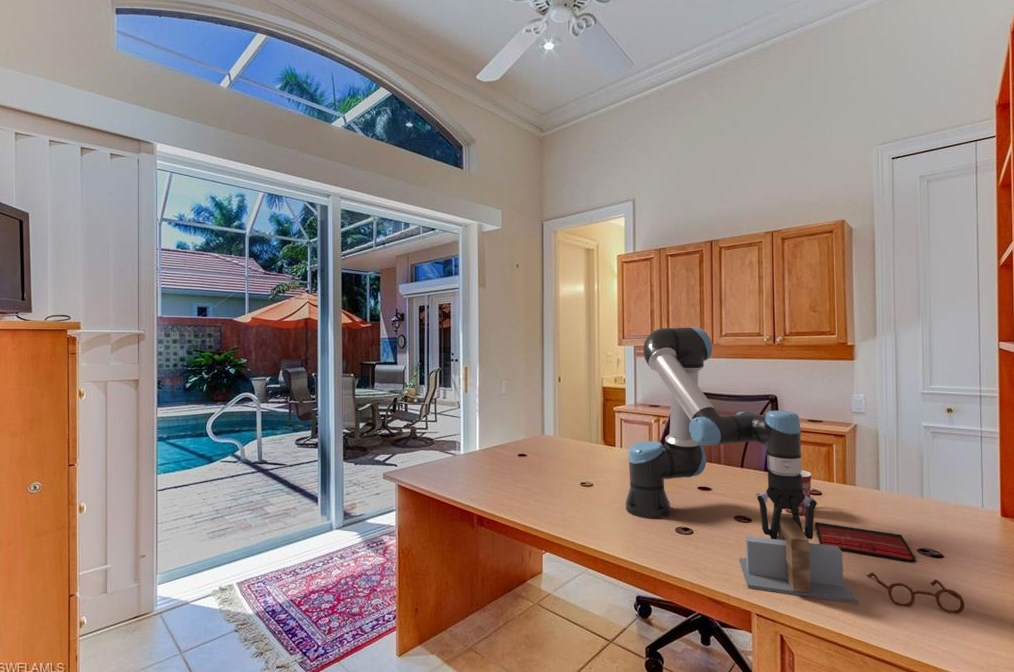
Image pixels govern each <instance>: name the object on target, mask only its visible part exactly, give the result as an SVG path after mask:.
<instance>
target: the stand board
mask: <svg viewBox="0 0 1014 672" xmlns="http://www.w3.org/2000/svg"><path fill="white" fill-rule="evenodd" d="M738 559H739V561H738V562H739V564H740V567H741V571H742V573H743V576H744V579H745V583H746V585H747V588H748V589H752V590H753V589H754V590H760V591H767V592H773V593H774V592H775V593H779V594H780V593H781V594H789V595H795V596H801V597H802V596H803V597H808V598H809V597H810V598H816V599H825V600H829V601H830V600H831V601H838V602H845V603H851V604H856V605H857V604H859V599H858V598H857V597H856V594H854V592H853V590H851V588H850V587H849V586H848V584H847V583H846V582H845V580H844V565H843V564H844V563H843V551H841V550H840V548H839V547H838V546H832V545H823V544H820V543H813V542H809V561H810V587H811V593H809V592H801V591H794V590H793V589H792V587H791V585H790V583H789V581H788V579H787V569H786V543H785V540H776V539H771V538H765V537H755V536H748V535H746V536H745V558H743V557H739V558H738Z"/></svg>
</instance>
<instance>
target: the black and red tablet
mask: <svg viewBox="0 0 1014 672" xmlns="http://www.w3.org/2000/svg"><path fill="white" fill-rule="evenodd" d="M814 527H815V528H816V535H817V539H818V542H819V544H823V545H832V546H838V547H839V548H840V550H841V551H842V552H847V553H848V552H849V553H855V554H861V555H868V556H873V557H880V558H888V559H892V560H895V561H896V560H897V561H900V562H904V563H911V564H912V563H913V562H914V563H916V562H917V560H916V556H915V555H914V554H913V552H912V550H911V548H910V547H909V545H908V544H907V542H906V540H905V538H904V537H903V535H902V534H898V533H891V532H885V531H878V530H872V529H865V528H864V529H863V528H859V527H858V528H857V527H851V526H850V527H849V526H843V525H837V524H831V523H825V522H817V521H815V522H814Z"/></svg>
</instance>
